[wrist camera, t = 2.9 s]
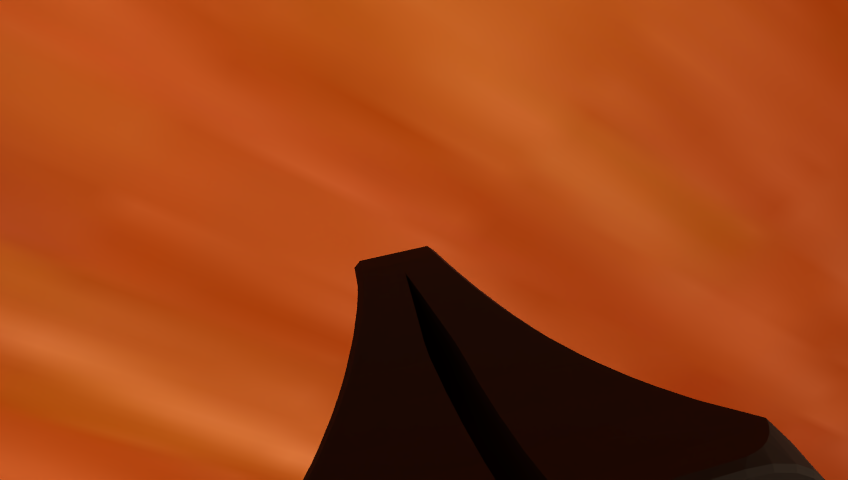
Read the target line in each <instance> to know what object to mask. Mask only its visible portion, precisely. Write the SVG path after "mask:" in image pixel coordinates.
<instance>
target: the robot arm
mask: <svg viewBox="0 0 848 480" xmlns="http://www.w3.org/2000/svg"><path fill="white" fill-rule="evenodd" d="M355 273H356V278H357V284H358V302H357V313H356V321H355V329H354V336H353V341H352V346H351V350H350V355H349V359H348V363H347V368H346V372H345V376H344V379H343V383H342V386H341V390H340V393H339V396H338V399H337V402H336V405H335V408H334V411H333V414H332V416H331V419H330V421H329V424H328V426H327V429H326V431H325V434H324V436H323V439H322V441H321V444H320V446H319V448H318V451H317V453H316V455H315V457H314V459H313V461H312V464H311V466H310V467H309V469H308V471H307V473H306V475H305V477H304V479H303V480H825V479H824V478H823V477H822V476H821V475H820V474H819V473H818V472H817V471H816V470H815V468H814V467H813V466H812V465H811V464H810V463H809V462H808V461H807V460H806V458H805V457H804V456H803V455H802V454H801V453H800V451H799V450H798V449H797V448H796V447H795V446H794V445H793V444H792V443H791V441H789V440H788V439H787V438H786V437H785V436H784V435H783V434H782V433H781V432H780V431H779V430H778V429H777V428H776V427H775V426H774V425H773V424H772V423H771V422H769V421H768V420H767V419H766V418H764V417H760V416H756V415H753V414H749V413H745V412H741V411H737V410H733V409H729V408H726V407H722V406H718V405H714V404H710V403H706V402H702V401H699V400H696V399H692V398H689V397H686V396H683V395H680V394H677V393H674V392H671V391H668V390H665V389H662V388H659V387H656V386H653V385H651V384H648V383H645V382H643V381H640V380H637V379H635V378H632V377H630V376H627V375H625V374H623V373H620V372H618V371H616V370H613V369H611V368H609V367H606V366H604V365H602V364H599V363H597V362H595V361H593V360H591V359H589V358H587V357H584V356H582V355H580V354H578V353H576V352H575V351H573V350H571V349H569V348H567V347H565V346H563V345H561V344H560V343H558V342H556V341H554V340H552V339H550V338H548V337H547V336H545V335H543V334H542V333H540V332H539V331H537V330H535V329H534V328H532V327H531V326H529V325H528V324H526V323H525V322H523V321H522V320H520V319H519V318H517V317H516V316H514V315H513V314H511V313H510V312H508V311H507V310H506V309H504V308H503V307H501V306H500V305H499V304H497V303H496V302H495V301H494V300H492V299H491V298H490V297H488V296H487V295H486V294H484V293H483V292H482V291H480V290H479V289H478V288H477V287H475V286H474V285H473V284H472V283H470V282H469V281H468V280H467V279H466V278H464V277H463V276H462V275H461V274H460V273H458V272H457V271H456V270H455V269H454V268H453V267H451V266H450V265H449V264H448V263H447V262H446V261H445V260H444V259H443V258H441V257H440V256H439V255H438V254H437V253H436V252H435V251H434V250H432V249H431V248H429V247H428V246H425V247H421V248H416V249H412V250H407V251H403V252H398V253H394V254H389V255H385V256H380V257H376V258H371V259H367V260H362V261H360V262H359V263H358V264H357V265H356V267H355Z"/></svg>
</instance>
